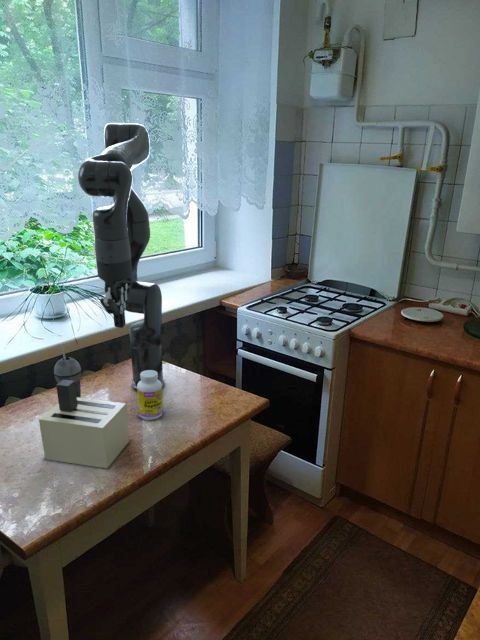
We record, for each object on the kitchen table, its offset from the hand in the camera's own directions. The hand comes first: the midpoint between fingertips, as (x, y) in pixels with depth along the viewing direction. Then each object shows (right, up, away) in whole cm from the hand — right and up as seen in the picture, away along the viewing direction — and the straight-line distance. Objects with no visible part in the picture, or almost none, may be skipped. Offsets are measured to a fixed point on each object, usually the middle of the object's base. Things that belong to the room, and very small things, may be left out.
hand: (120, 326), depth 118 cm
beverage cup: (-20, -23, +23) cm, 38 cm away
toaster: (-9, -30, +4) cm, 32 cm away
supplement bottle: (+3, -24, +21) cm, 32 cm away
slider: (-12, -20, +1) cm, 23 cm away
